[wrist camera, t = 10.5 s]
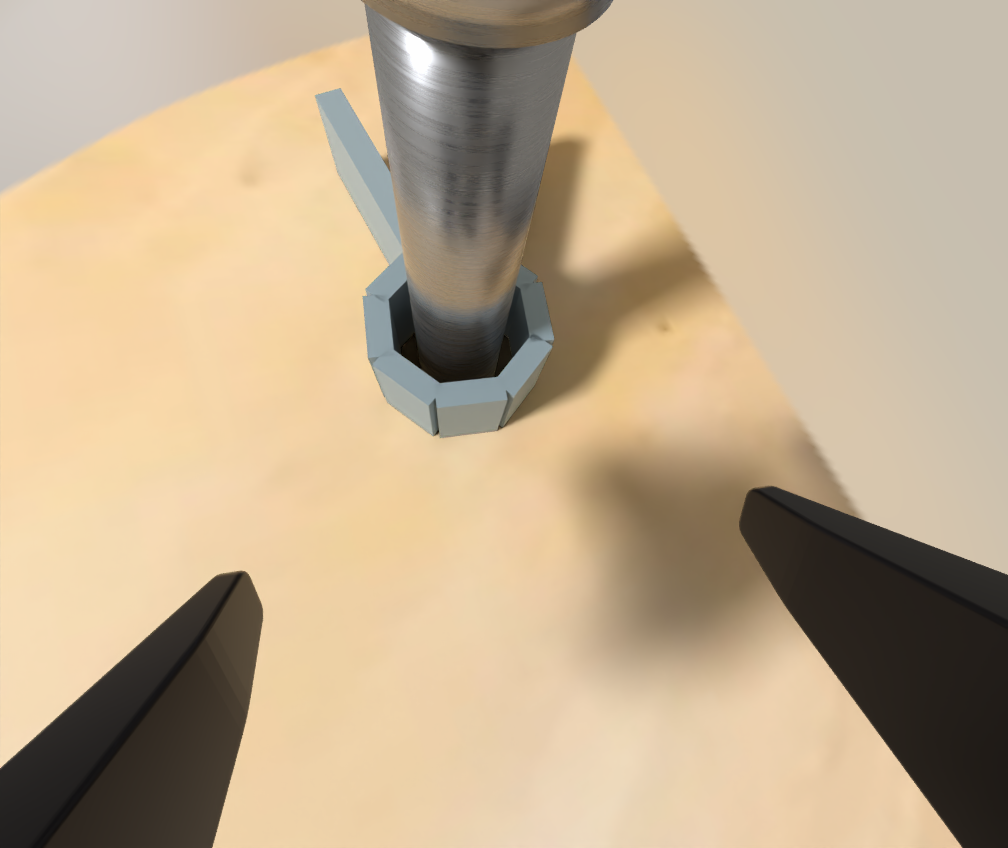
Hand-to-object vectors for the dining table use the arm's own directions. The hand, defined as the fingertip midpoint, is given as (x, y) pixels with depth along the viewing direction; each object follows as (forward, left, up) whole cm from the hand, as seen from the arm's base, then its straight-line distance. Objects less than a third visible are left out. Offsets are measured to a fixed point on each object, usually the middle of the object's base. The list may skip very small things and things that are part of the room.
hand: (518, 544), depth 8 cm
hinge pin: (+6, -4, -8) cm, 11 cm away
